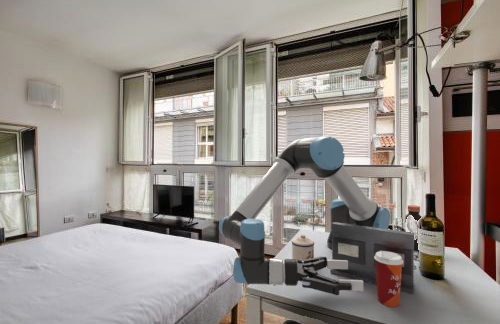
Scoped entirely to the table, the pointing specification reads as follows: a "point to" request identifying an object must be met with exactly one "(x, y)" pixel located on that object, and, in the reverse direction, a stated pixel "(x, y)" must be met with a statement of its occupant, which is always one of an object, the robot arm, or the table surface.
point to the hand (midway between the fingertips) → (354, 274)
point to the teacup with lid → (302, 248)
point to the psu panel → (371, 251)
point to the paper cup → (388, 277)
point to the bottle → (414, 212)
